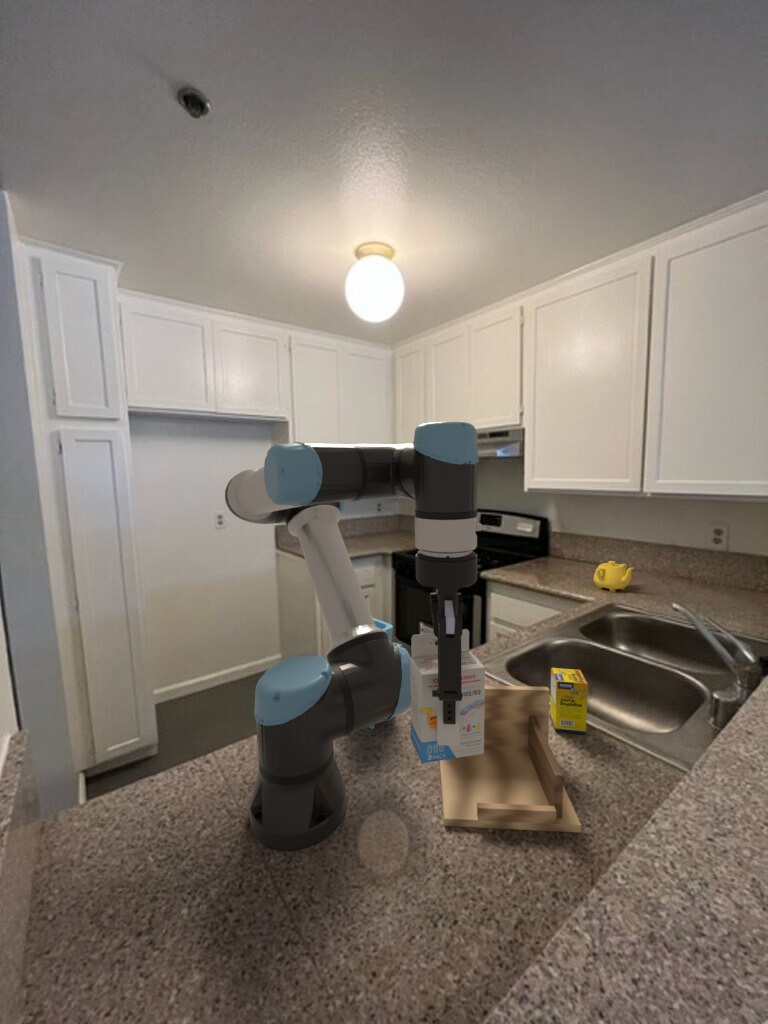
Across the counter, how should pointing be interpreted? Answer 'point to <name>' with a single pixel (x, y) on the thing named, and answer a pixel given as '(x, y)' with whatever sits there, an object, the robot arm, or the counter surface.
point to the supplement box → (568, 701)
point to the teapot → (612, 576)
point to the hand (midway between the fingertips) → (446, 725)
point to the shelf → (509, 769)
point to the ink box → (426, 705)
